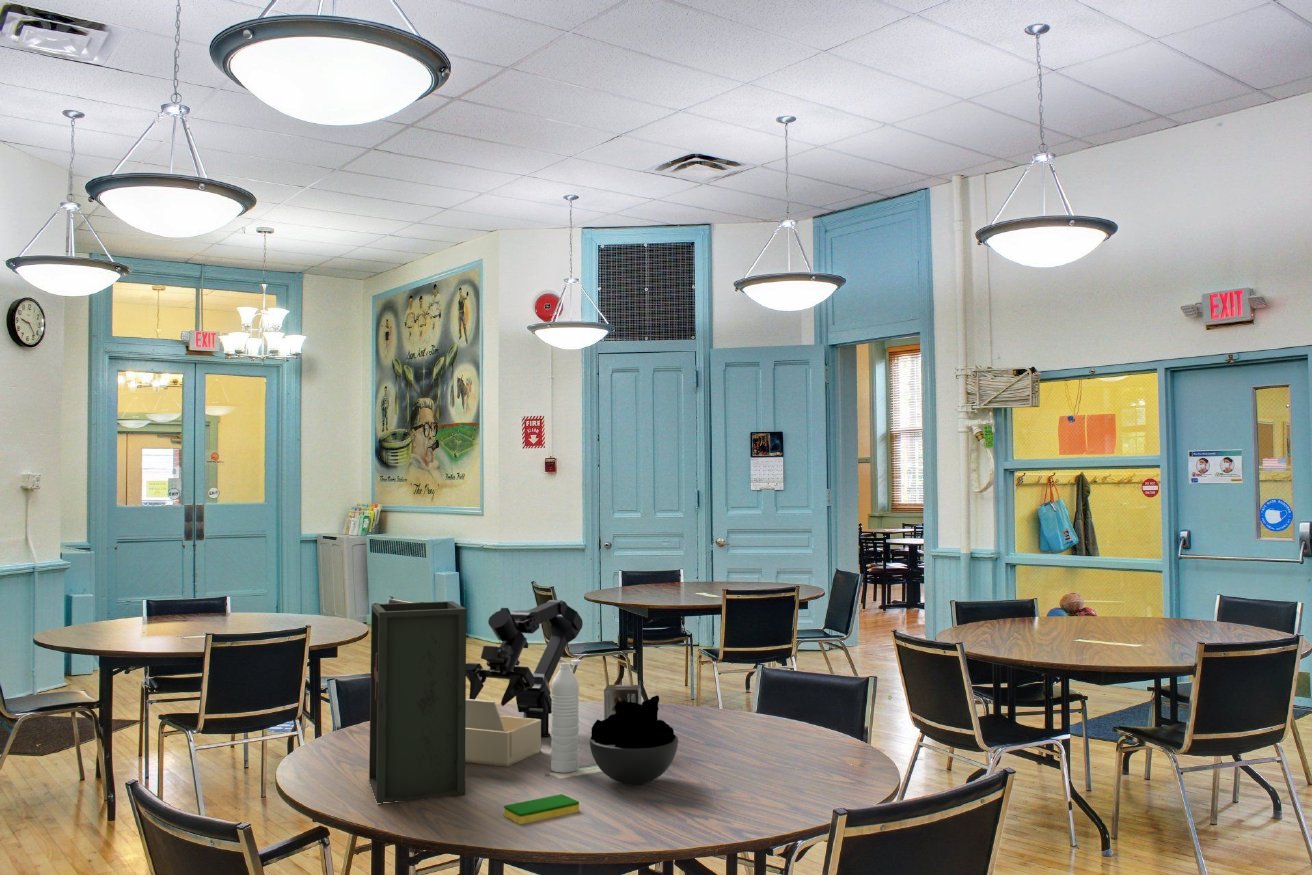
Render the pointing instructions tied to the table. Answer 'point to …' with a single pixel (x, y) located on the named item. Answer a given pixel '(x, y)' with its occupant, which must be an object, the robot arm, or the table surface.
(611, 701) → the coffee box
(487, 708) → the far flap
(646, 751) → the bowl of black rocks
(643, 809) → the table surface
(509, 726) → the carton
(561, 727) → the water bottle
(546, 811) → the dish sponge
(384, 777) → the dark green square bin
